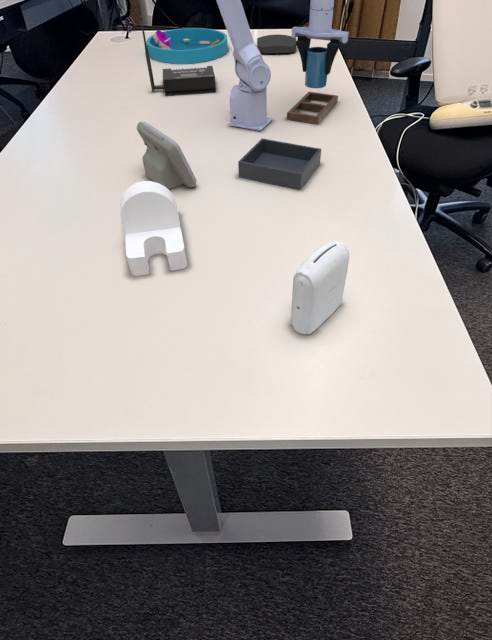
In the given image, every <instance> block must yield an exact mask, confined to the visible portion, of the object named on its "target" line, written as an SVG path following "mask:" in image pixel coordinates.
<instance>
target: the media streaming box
mask: <svg viewBox="0 0 492 640" xmlns="http://www.w3.org/2000/svg"><path fill="white" fill-rule="evenodd" d="M296 41H297V37H296V38H292V35H287V34H267V35H263V36H259V37H257V39H256V46H257V48H258V50H259V51H260V53H261V54H291V53H294V52H296V51H297V45H296Z"/></svg>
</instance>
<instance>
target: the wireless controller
mask: <svg viewBox="0 0 492 640" xmlns="http://www.w3.org/2000/svg"><path fill="white" fill-rule="evenodd" d="M140 27H141V33H142V38H143V44H144V52H145V53H144V54H145V59H146V65H147V66H146V67H147V72H148V77H149V82H150V88H151V91H152V92H155V91H158V90H163V91H164V96H165V97H168V96H169V97H171V96H183V95H184V96H186V95H199V94H211V93H212V94H213V93H217V87H216V86H217V85H216V76H215V72H214V71H215V70H214V67H213V65H207V66H206V67H199V66H198V67H194V68H183V67H182V68H181V69H180V67H179V69H177V68H176V69H172V68H162V83H163V84H158V85H155V80H154V73H153V68H152V62H151V57H150V56H149V52H148V48H147V43H146V41H147V38H146V34H145V33H146V32H145V28H144V24H141V25H140Z"/></svg>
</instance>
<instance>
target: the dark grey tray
mask: <svg viewBox="0 0 492 640" xmlns="http://www.w3.org/2000/svg"><path fill="white" fill-rule="evenodd" d="M321 158H322V148H318V147H313V146H308V145H303V144H302V145H301V144H297V143H290V142H284V141H279V140H273V139H269V138H261V139H260V140H259V141H257V142H256V144H254V145H253V146H252V147H251V148H250V149H249V151H247V152H246V153H245V154H244V155H243V156H242V157H241V158H240V159H239V160H238V161H237V165H238V166H237V167H238V178H240V179H241V178H242V179H246V180H251V181H255V182H261V183H265V184H271V185H275V186H279V187H284V188H289V189H294V190H299V191H301V190H302V189H303V188H304V186H305V185H306V183H307V182H308V181H309V180H310V178H311V177H312V175H313V174H314V173H315V172H316V171H317V169H318V168H319V166H320V165H321Z"/></svg>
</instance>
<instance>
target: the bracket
mask: <svg viewBox="0 0 492 640" xmlns="http://www.w3.org/2000/svg"><path fill="white" fill-rule="evenodd" d="M119 204H120V220H121V225H122V229H123V232H124V238H125V242H124V243H125V257H126V261H127V263H128V266H129V270H130V274H131V275H132V276H135V277H140V276H146V275H147V276H148V275H150V268H149V267H150V266H149V260H150V258H151V257H153V256H155V255H165V256H167V261H168V265H169V271H170V272H173V271H179V270H184V269H186V268H187V267H188V261H187V260H188V259H187V254H186V249H185V244H184V243H185V242H184V238H183V233H182V226H181V222H180V215H179V210H178V204H177V201H176V198H175V196H174V194H173V193H172V191H171V190H170V189H169V190H168V189H167V188H166V187H165V186H163V185H161V184H159V183H156V182H153V181H152V180H143V181H138V182H135V183H133V184H132V185H130V186H128V187H127V189H126V190H125V191H124V192H123V194H122V195H121V198H120V203H119Z"/></svg>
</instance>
